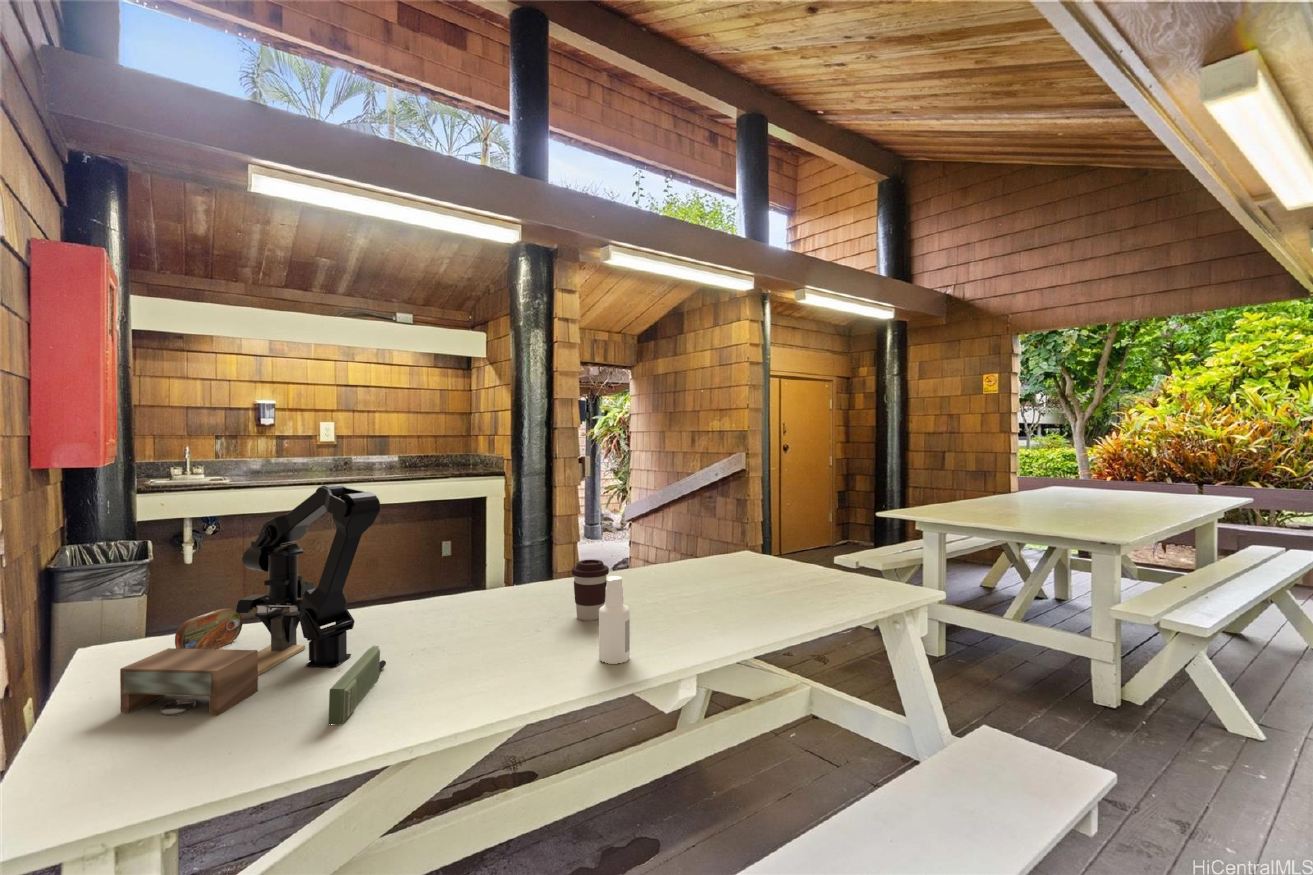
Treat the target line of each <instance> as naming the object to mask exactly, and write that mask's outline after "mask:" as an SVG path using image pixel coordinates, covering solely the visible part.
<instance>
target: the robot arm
mask: <svg viewBox="0 0 1313 875" xmlns="http://www.w3.org/2000/svg"><path fill="white" fill-rule="evenodd" d="M380 510H381V501H380V500H379V498H378V496H377V495H376V494H375V493H374V492H372V491H364V490H360V489H355V488H350V487H347V486H344V485H342V484H340V483H339V484H338V483H337V484H328V485H321V486H320V487H317V489H316V490H315V492H314V493H313V494H311V495H310V496H309V497H307V498H306V499H304V500H303V501H302V502H300V504H298V505H297V506H296V507H294V508H292V509H291V510H290V511H289V512H288V513H285V514H282V515H279V516H276V517H273V518H271V519H269V520H266V521H265V522H264V524H263V526H262V529H261V530H260V532H259V534H258V537H256V540H252V541H251V542H250V544H251V546H250V547H248V548H247V549H246V550H245V551H244V553H243V556H242V558H241V560H242V564H243V566H244V567H245V568H247V569H248V570H254V571H259V572H260V571H261V572H267V573H268V579H266V580H263V581H264V586H268V594H255V593H254V594H250V595H248V596H246V597H242V598H241V599H239V600H238V601H237V603H236V605H235V610H236V613H240V614H249V613H251V611H252V610H253V609H254V608H255V609H257V613H256V614H254V616H255V617H256V618H258V619H259V620H260V621H261V622H262V624H263V625H264V626H265V627H266V629H267V630H268V633H269V634H270V635H271V619H272V618H275V617H277V616H279V615H281V614H283V611H284V610H285V609H289V613H287V614H285V615H283V619H284V626H285V633H286V638H287V642H291V641H292V640H293V637H294V634H295V632H296V633H297V628H298V627H299V625H300V626H301V631H302V632H301V633H302V636H303V639H306V641H309V642H308V661H309V662H307V663H306V664H305V667H309V668H310V667H312V668H313V667H314V668H317V667H320V668H334V667H337V666H338V665H340V664H341V663H343V662H344V661H346V660H347V659H349V658H350V657H351V656H352V654H351V653H348V650H347V648H348V647H347V646H348V645H347V641H348V640H347V633H348V632H347V631H349V630H353V629H354V625H355V619H354V617H353V615H352V614H351V613H350V611H349V610H348V608H347V597H346V595H345V593H344V587H345V585H346V581H347V579H348V577H349V576H348V575H349V573H350V570H351V567H352V565H353V561H354V558H355V556H356V552H357V550H358V547H359V544H360V541H361V537H362V536H363V534H364V533H365V532H366V531H367V530H368V529H369V528H370V527H371V526H372V525H373V524H374V523H375V521H376V519H377V517H378V515H379V513H380ZM326 512H328V513H329V514H332V521H333V522H334V525H335V528H336V531H335V535H334V536H333V540H332V543H331V546H330V548H329V552H328V554H327V558H326V561H325V564H324V567H323V570H322V573H321V576H320V580H319V582H318V585H317V587H316V588H315V585H316V583H315V582H310V581H303V575H302V574H299V571H298V570H299V568H298V567H299V565H298V564H299V563H298V562H299V560H298V559H299V558H298V555H302V554H304V550H303V549H302V547H300V546H298V544H297V543H296V542H299V541H300V540H301V539H302V538H303V537H305V535H306V533H307V532H308V526H309V525H311V523H314V521H316V520H317V519H319V518H320V517H322V516H323V515H324V514H325V513H326ZM301 598H302V599H301ZM333 623H335V624H333ZM330 624H332V625H330ZM327 625H328V626H327ZM324 626H326V627H324ZM321 627H322V628H321Z"/></svg>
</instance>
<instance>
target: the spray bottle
mask: <svg viewBox="0 0 1313 875" xmlns="http://www.w3.org/2000/svg"><path fill="white" fill-rule="evenodd" d="M606 580H607V585H606V597H605V604H604V605H603V606H602V607H601V608H600V609H599V620H598V659H599V661H600V662H601V661H602V662H601V663H603V662H605V663H604V664H607V663H608V664H609V665H618V663H620V664H623V662H624V663H626V662H628V661H629V660H630V656H631V652H630V650H631V648H630V647H631V646H630V637H631V636H630V634H631V632H630V628H631V626H630V624H631V622H630V614H631V613H630V610H631V609H630V607H629V606H627V605H626V604H624V587H623V577H622V576H621V575H620V576H619V575H611V576H606ZM628 659H629V660H628ZM627 660H628V661H627Z"/></svg>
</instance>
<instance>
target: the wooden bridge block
mask: <svg viewBox="0 0 1313 875" xmlns="http://www.w3.org/2000/svg"><path fill="white" fill-rule="evenodd" d="M258 651H259V650H258V649H227V648H226V649H225V648H223V649H219V648H218V649H178V648H176V647H175V648H173V647H172V648H171V647H170V648H169V647H168V648H165V649H164V650H161V651H159V652H156V653H153V654H152V655H150V656H147V657H145V658H143V659H140V660H138V661H135V662H133V663H131V664H128V665H126V666H123V667H121V668H119V669H120V672H119V673H120V674H119V676H120V678H119V680H120V682H119V684H120V685H119V686H120V687H119V688H120V695H119V696H120V714H131V713H132V711H133V712H135V711H137V710H138V709H140V708H142V707H144V706H147V705H149V704H151V702H154V701H156V700H159V699H160V698H163V697H164V696H194V697H196V696H199V697H201V696H202V697H203V696H204V697H209V699H208V700H209V701H208V702H209V716H214V717H218V716H220V715H221V714H223V713H225V712H226V711H228V710H230V709H231V708H233V707H235V706H236V705H238V704H239V703H241V702H242V701H244V700H246V699H247V698H249V697H251V696H253V695H254V694H256V693H257V692H259V682H258V681H259V675H258ZM134 710H135V711H134ZM130 712H131V713H130Z"/></svg>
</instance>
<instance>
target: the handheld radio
mask: <svg viewBox="0 0 1313 875" xmlns="http://www.w3.org/2000/svg"><path fill="white" fill-rule="evenodd" d="M379 647H380V646H379V645H372V646H371V647H370V648H368V649H367V650H366V651H365V652H364V653H363V654H362V655H361V656H360V657H359V659H358V660H356V661H355V663H354V664H353V665H351V667H350V668H349V669H348V670H347V671H346V672H345V673H344V674H343V675H342V676H341V677H339V679H338V680H337V681H336V683H334V684H333V685H332V687H331V688H329V694H328V695H329V698H328V700H329V701H328V721H327V722H328V724H330V725H329V726H332V725H331V724H341V725H343V724H344V723H345V722H346V721H347V720H348V718H349V717H350V716H351V715H352V713H354V711H355V710H356V708H357V707H358V706H359V705H360V703H361V702H362V701H363V700H364V699H365V697H366V696H367V695H368V694H369V692H370V691H371V690H372V689H373V688H374V686H375V685H376V684H375V683H377V682H378V681H379V680H380V672H381V671H382V669H384V668H385V666H386V665H387V661H386V660H384V659H382V660H381V649H380V648H379ZM378 679H379V680H378ZM374 684H375V685H374ZM370 689H371V690H370ZM350 714H351V715H350ZM346 719H347V720H346ZM344 721H345V722H344ZM342 723H343V724H342Z"/></svg>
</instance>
